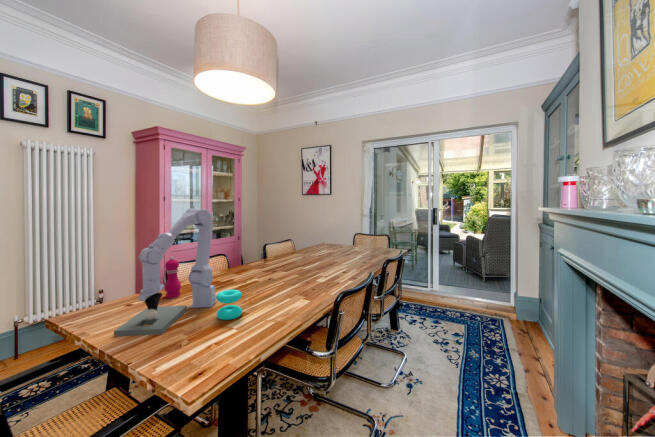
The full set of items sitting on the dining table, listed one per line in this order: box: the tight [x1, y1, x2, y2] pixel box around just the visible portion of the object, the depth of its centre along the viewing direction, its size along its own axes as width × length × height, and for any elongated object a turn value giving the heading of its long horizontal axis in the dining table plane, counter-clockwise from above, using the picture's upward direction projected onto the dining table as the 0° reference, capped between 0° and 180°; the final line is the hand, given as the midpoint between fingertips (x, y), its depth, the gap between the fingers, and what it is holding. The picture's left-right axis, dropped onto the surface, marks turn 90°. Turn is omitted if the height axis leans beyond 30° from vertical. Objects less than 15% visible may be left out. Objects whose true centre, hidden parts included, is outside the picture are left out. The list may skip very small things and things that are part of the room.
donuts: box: [216, 288, 243, 321], centre depth 114 cm, size 10×10×10 cm
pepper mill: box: [164, 256, 182, 299], centre depth 137 cm, size 7×7×20 cm
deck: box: [113, 305, 188, 337], centre depth 108 cm, size 16×22×2 cm
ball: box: [145, 309, 157, 320], centre depth 106 cm, size 4×4×4 cm
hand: (152, 313), depth 108 cm, fingers closed, pressing on ball
